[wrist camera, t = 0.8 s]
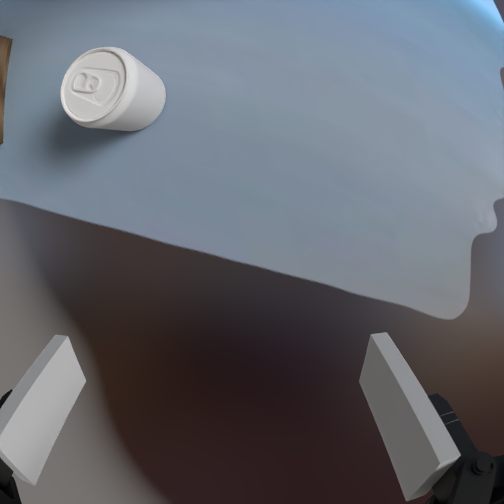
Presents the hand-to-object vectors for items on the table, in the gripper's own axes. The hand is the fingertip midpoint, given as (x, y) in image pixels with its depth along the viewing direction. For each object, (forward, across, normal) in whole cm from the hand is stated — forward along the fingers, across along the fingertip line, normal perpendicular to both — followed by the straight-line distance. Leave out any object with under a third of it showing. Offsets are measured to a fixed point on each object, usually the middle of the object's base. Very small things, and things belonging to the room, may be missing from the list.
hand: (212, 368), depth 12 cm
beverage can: (+27, -12, +15) cm, 33 cm away
